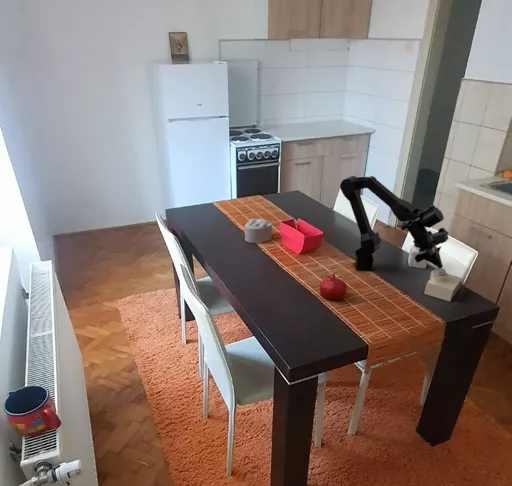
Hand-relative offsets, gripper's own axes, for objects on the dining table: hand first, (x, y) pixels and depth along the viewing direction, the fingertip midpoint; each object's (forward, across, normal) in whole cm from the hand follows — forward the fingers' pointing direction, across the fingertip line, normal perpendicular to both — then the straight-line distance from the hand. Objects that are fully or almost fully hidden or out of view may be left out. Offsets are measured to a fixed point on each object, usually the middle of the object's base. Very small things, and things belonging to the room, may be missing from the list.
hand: (441, 267), depth 181 cm
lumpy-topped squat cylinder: (-53, -3, +66) cm, 85 cm away
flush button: (+2, 0, +2) cm, 3 cm away
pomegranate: (-14, -31, +28) cm, 44 cm away
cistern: (+9, 0, +5) cm, 10 cm away
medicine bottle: (-3, +18, +17) cm, 25 cm away
